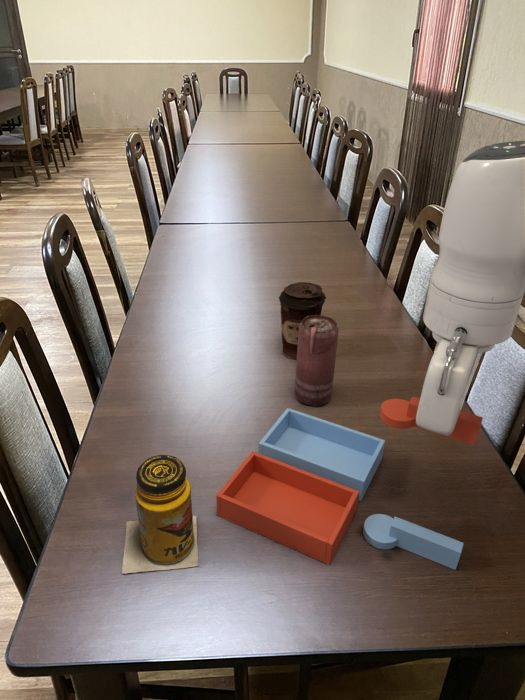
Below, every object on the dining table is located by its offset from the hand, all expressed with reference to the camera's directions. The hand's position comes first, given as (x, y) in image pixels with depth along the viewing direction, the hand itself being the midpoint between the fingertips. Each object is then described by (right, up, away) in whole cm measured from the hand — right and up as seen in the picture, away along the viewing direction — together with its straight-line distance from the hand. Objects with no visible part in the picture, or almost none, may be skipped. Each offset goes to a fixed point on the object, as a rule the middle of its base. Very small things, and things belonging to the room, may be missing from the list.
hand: (443, 417), depth 62 cm
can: (-12, 0, +28) cm, 30 cm away
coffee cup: (-14, +7, +40) cm, 43 cm away
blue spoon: (-3, -16, +2) cm, 16 cm away
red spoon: (-1, -1, +2) cm, 2 cm away
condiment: (-33, -15, +2) cm, 36 cm away
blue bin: (-13, -8, +15) cm, 21 cm away
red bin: (-18, -13, +6) cm, 23 cm away
